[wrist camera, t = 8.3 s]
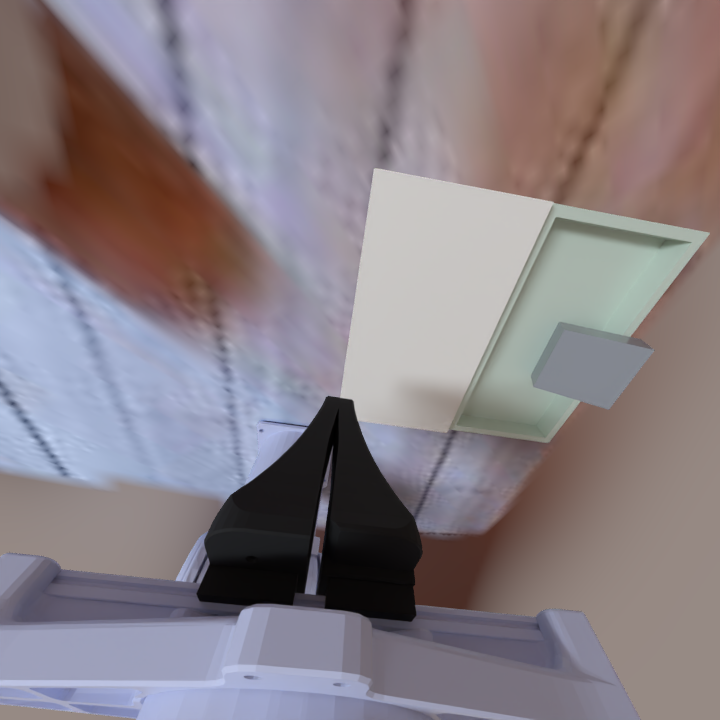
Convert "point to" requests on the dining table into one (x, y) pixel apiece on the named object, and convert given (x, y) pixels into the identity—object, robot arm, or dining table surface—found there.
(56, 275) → the dining table surface
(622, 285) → the box
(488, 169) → the dining table surface
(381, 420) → the white board
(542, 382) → the grey tile
